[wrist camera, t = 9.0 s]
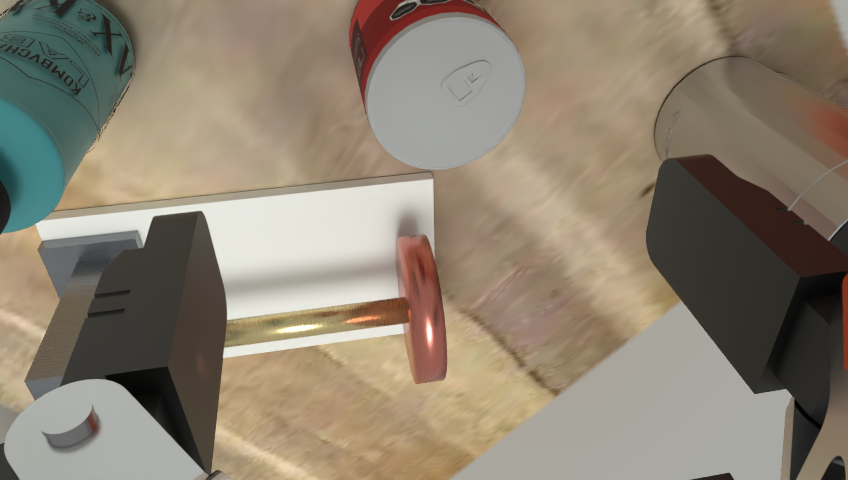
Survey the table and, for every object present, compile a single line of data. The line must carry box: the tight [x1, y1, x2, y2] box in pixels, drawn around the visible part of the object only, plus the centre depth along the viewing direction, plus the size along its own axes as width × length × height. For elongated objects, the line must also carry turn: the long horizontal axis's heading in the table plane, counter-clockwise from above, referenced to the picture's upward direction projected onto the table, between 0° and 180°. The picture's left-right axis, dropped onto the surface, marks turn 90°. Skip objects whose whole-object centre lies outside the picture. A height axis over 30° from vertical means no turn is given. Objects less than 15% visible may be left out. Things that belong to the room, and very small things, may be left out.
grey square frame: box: [25, 230, 143, 400], centre depth 41 cm, size 6×11×12 cm, turn 2°
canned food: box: [349, 0, 526, 170], centre depth 35 cm, size 8×8×11 cm
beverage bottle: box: [0, 0, 136, 234], centre depth 29 cm, size 6×7×20 cm
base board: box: [35, 172, 435, 358], centre depth 48 cm, size 26×14×1 cm, turn 92°
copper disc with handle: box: [224, 234, 447, 384], centre depth 43 cm, size 18×10×10 cm, turn 92°
